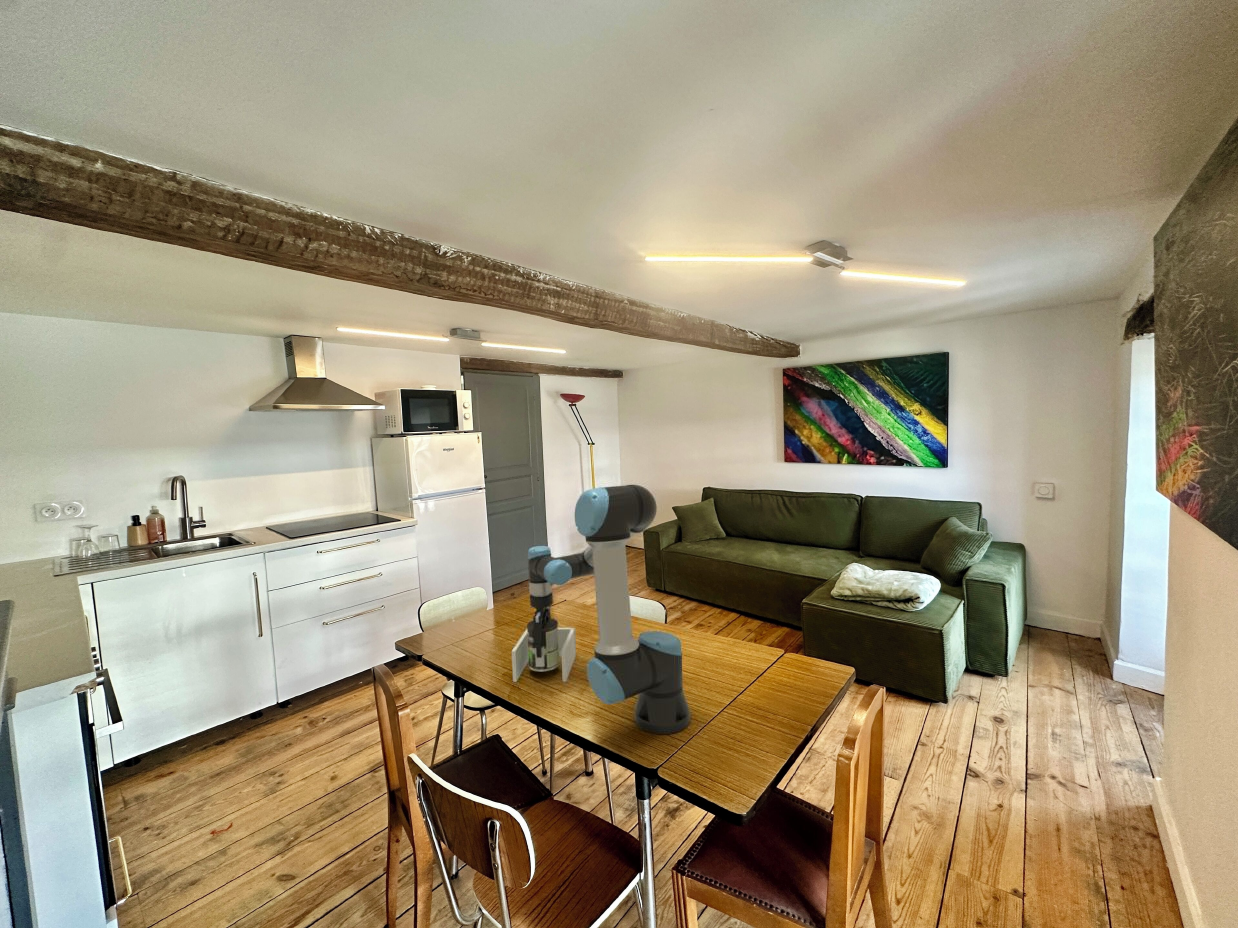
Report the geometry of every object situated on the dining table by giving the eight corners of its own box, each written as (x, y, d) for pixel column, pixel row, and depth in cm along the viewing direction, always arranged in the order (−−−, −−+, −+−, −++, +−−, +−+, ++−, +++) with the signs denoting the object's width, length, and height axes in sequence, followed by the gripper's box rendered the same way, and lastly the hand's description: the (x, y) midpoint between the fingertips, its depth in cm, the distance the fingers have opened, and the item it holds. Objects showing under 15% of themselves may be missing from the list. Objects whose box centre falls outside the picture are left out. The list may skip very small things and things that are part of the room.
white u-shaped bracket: (566, 681, 156) (565, 651, 155) (513, 681, 157) (511, 651, 157) (575, 655, 175) (574, 627, 174) (528, 655, 176) (527, 628, 176)
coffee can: (531, 674, 156) (529, 631, 156) (526, 661, 166) (524, 620, 165) (563, 668, 160) (561, 626, 159) (555, 655, 170) (554, 615, 169)
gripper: (544, 604, 150) (547, 674, 151) (558, 583, 173) (561, 644, 174) (520, 604, 151) (523, 674, 152) (538, 583, 174) (540, 644, 175)
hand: (544, 658), depth 163 cm, fingers closed on coffee can, 10 cm apart
